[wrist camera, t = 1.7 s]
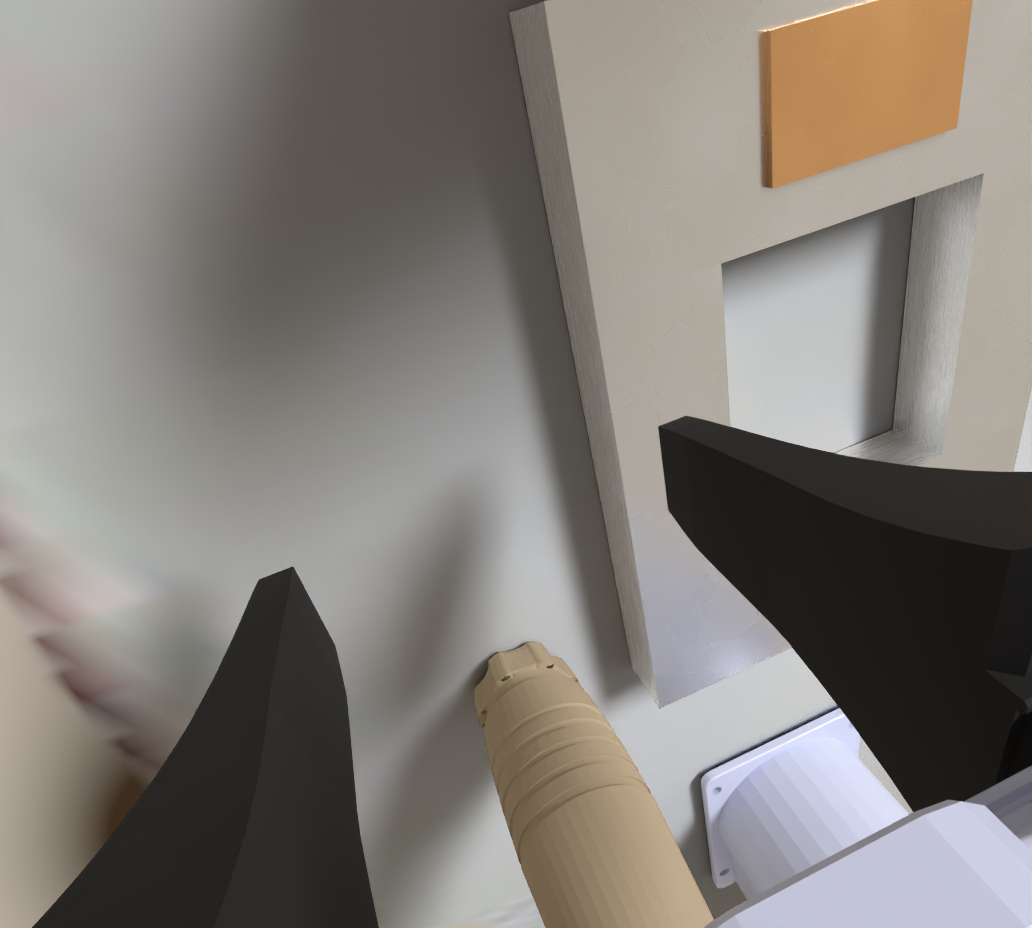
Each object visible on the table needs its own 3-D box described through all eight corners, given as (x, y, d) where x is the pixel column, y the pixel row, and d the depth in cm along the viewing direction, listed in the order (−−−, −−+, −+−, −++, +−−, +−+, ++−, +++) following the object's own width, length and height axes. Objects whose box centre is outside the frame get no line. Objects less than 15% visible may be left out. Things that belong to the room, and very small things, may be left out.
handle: (576, 579, 21) (1024, 1256, 9) (589, 713, 25) (930, 1345, 12) (429, 627, 20) (704, 1472, 8) (463, 760, 24) (696, 1506, 11)
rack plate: (949, 524, 26) (1000, 556, 25) (631, 666, 24) (662, 713, 22) (1055, -128, 16) (1160, -158, 14) (508, 12, 14) (548, -1, 12)
